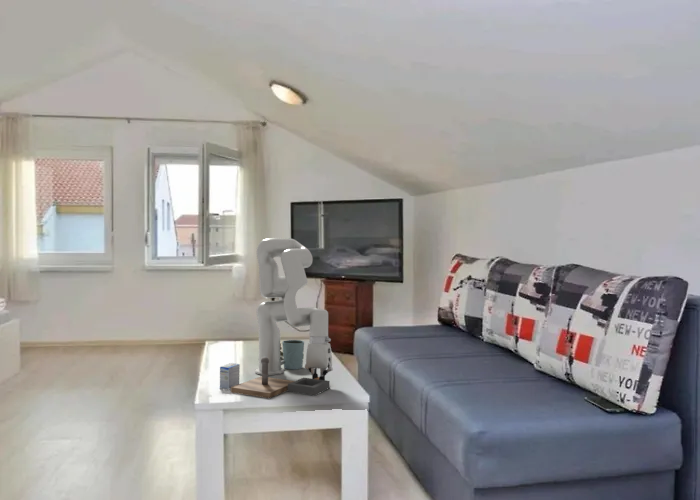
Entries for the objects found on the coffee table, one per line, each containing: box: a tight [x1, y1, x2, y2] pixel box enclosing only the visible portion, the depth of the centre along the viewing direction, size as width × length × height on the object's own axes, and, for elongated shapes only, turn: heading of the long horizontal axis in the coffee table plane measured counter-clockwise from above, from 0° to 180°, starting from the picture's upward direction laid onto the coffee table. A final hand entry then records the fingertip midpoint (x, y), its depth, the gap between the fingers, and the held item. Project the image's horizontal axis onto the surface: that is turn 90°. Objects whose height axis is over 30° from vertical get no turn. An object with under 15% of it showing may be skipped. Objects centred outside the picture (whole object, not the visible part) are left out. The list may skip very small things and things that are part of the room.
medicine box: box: [219, 362, 241, 390], centre depth 237 cm, size 8×4×9 cm, turn 159°
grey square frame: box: [287, 376, 331, 396], centre depth 234 cm, size 16×12×3 cm
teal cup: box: [281, 339, 305, 370], centre depth 272 cm, size 10×10×12 cm
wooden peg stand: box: [230, 357, 295, 399], centre depth 233 cm, size 20×18×13 cm
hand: (318, 384), depth 239 cm, fingers closed on grey square frame, 2 cm apart
